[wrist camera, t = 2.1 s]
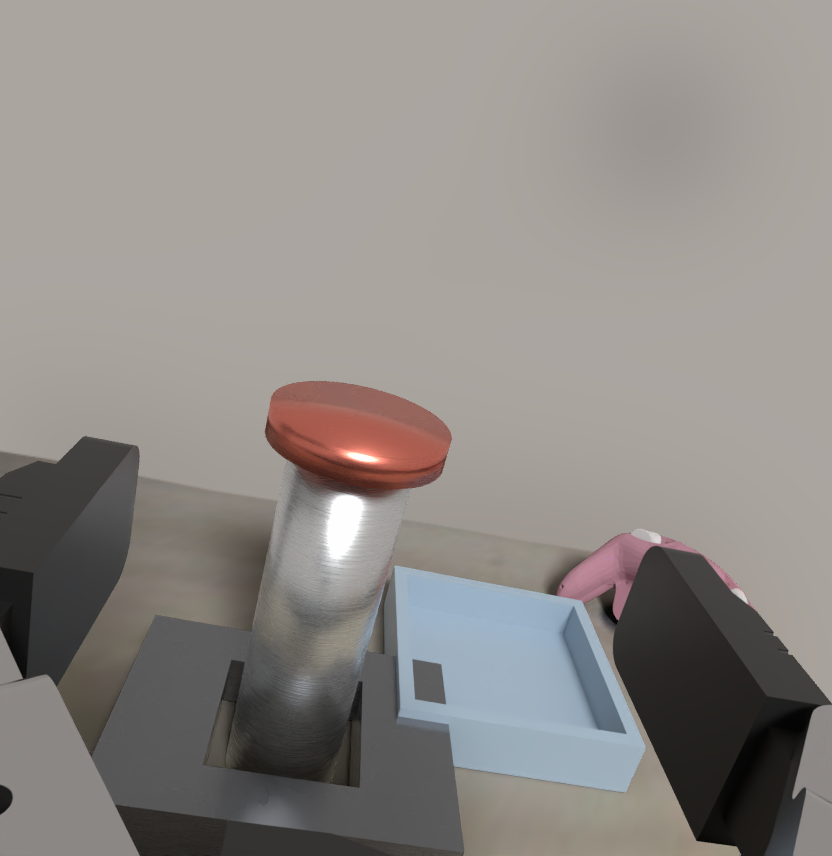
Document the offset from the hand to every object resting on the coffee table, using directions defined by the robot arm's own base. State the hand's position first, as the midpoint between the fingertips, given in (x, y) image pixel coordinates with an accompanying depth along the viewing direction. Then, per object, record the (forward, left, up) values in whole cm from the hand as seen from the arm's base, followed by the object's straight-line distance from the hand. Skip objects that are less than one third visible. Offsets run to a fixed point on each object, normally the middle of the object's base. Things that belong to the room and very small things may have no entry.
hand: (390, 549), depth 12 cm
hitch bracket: (0, +11, -16) cm, 20 cm away
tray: (+9, +17, -16) cm, 25 cm away
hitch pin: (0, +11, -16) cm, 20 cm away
